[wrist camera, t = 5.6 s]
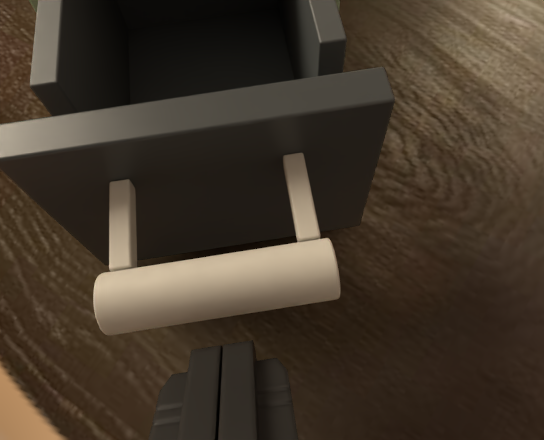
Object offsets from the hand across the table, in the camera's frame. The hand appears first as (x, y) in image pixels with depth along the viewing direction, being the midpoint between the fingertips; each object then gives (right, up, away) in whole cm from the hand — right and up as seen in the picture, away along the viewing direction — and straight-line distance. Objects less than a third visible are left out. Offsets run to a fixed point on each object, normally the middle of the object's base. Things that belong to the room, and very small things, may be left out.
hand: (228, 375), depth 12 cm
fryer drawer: (-1, +6, +9) cm, 11 cm away
